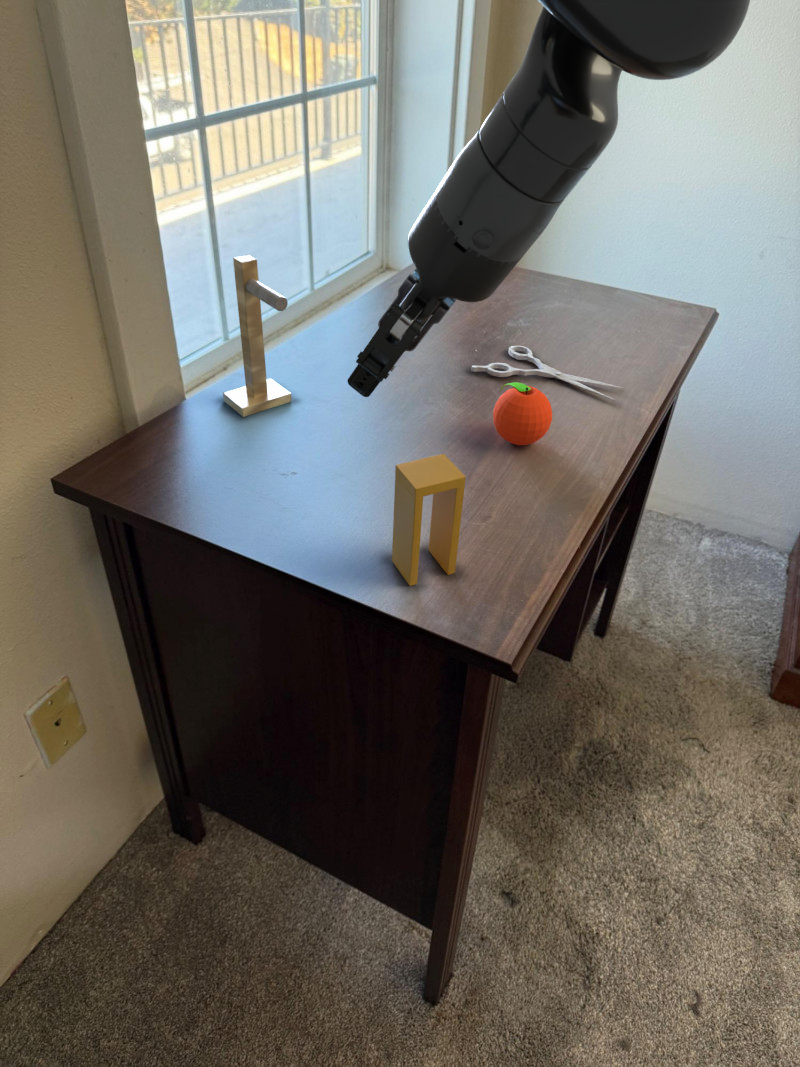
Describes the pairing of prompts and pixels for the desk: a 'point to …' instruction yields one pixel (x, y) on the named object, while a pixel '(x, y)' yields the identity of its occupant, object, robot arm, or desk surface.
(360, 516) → the desk surface
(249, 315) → the rack
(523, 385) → the clementine
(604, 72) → the robot arm
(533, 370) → the scissors
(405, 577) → the yellow goalpost frame
